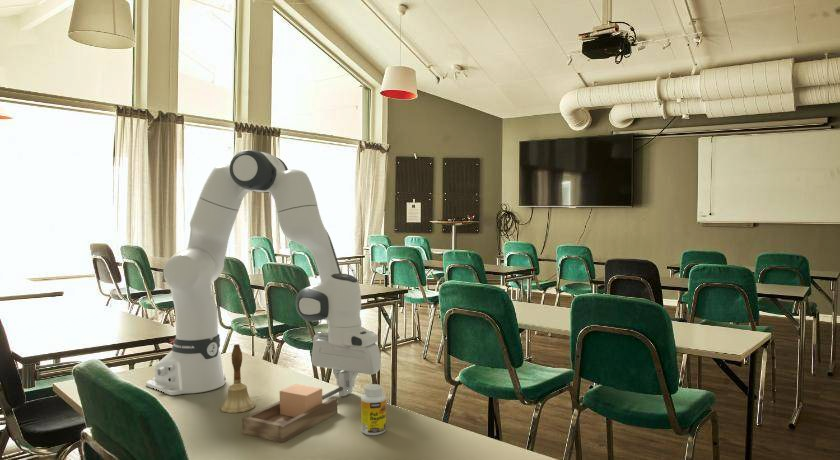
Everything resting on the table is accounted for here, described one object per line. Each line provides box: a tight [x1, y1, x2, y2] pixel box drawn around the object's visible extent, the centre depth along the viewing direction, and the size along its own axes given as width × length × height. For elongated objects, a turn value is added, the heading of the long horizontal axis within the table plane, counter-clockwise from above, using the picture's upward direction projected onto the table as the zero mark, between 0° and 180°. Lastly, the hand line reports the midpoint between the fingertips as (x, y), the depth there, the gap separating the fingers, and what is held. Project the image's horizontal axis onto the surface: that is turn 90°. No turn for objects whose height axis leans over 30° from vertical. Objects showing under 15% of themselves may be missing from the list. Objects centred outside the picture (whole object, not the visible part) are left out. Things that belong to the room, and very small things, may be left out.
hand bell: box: [220, 343, 256, 414], centre depth 146 cm, size 8×8×16 cm
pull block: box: [279, 370, 353, 417], centre depth 147 cm, size 8×24×6 cm, turn 153°
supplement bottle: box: [360, 383, 387, 436], centre depth 130 cm, size 6×6×10 cm
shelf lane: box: [241, 397, 338, 444], centre depth 136 cm, size 12×20×4 cm, turn 153°
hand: (345, 386), depth 155 cm, fingers closed on pull block, 2 cm apart
